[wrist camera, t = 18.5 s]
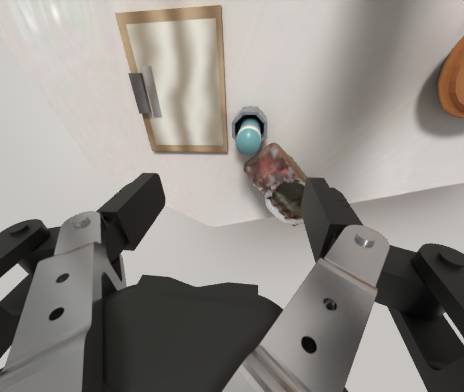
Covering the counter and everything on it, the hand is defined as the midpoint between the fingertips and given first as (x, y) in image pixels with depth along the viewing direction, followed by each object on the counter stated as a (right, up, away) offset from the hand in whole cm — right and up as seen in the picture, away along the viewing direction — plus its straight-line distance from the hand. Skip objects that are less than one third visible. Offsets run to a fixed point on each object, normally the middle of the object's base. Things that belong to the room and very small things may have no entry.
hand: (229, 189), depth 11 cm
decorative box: (+11, +4, +36) cm, 38 cm away
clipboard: (-10, +20, +28) cm, 36 cm away
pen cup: (+4, +15, +30) cm, 33 cm away
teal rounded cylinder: (+4, +14, +29) cm, 33 cm away
